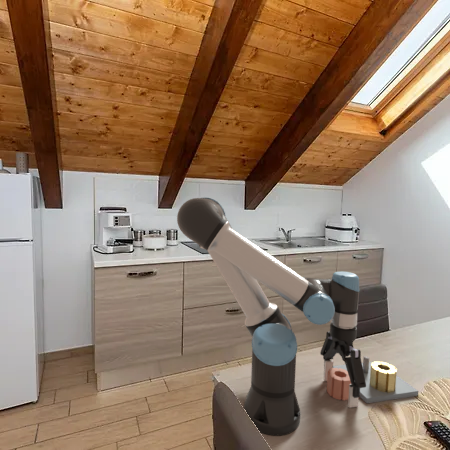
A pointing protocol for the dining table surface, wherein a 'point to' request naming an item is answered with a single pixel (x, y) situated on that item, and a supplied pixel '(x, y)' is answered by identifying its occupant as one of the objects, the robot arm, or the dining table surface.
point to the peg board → (375, 396)
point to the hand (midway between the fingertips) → (339, 392)
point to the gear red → (338, 383)
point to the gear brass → (383, 377)
